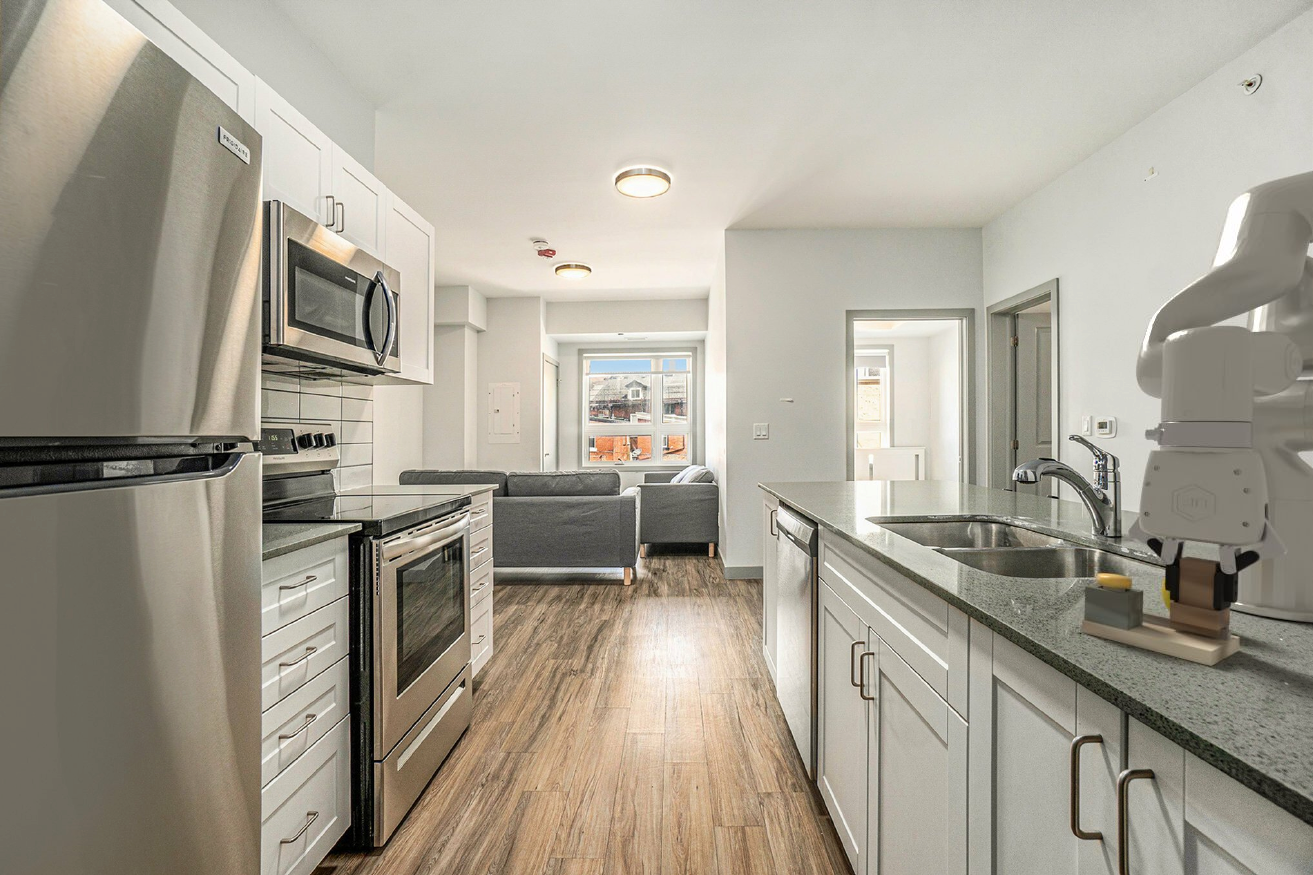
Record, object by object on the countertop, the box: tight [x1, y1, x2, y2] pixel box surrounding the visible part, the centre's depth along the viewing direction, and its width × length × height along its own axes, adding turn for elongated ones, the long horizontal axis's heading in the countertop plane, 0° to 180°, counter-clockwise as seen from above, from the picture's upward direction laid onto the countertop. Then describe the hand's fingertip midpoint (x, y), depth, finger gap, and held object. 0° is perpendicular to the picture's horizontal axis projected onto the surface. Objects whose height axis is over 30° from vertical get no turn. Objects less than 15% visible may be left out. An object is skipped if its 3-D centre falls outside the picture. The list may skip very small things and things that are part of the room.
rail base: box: [1081, 582, 1241, 667], centre depth 67 cm, size 9×12×6 cm
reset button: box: [1096, 573, 1133, 593], centre depth 69 cm, size 3×3×5 cm
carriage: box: [1169, 556, 1231, 638], centre depth 66 cm, size 4×4×8 cm
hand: (1199, 601), depth 66 cm, fingers closed on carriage, 3 cm apart
